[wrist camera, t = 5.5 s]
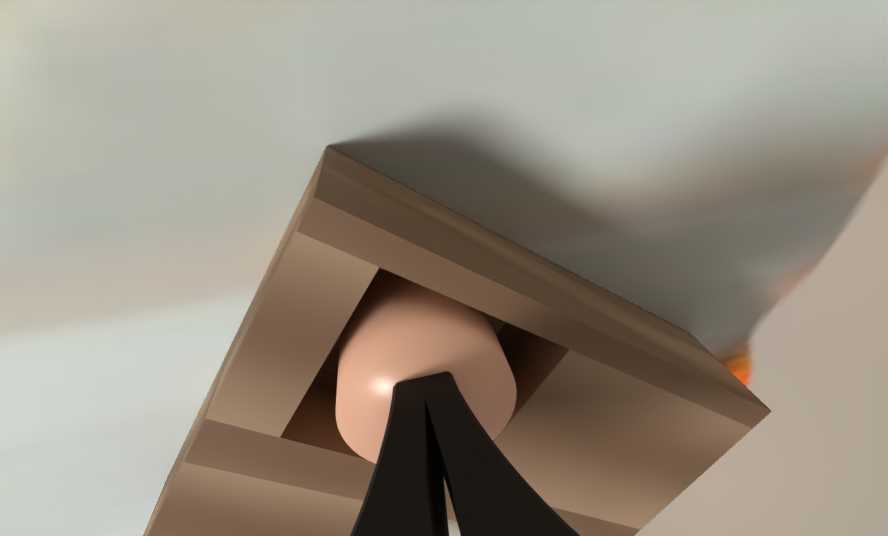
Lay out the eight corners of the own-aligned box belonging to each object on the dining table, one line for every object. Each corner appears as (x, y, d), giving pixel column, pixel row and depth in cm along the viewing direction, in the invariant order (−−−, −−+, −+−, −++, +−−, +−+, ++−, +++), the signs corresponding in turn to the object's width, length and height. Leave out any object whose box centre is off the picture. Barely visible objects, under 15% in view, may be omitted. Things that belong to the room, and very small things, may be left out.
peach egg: (439, 396, 16) (457, 485, 13) (316, 355, 14) (304, 446, 11) (511, 297, 14) (551, 371, 11) (383, 238, 12) (391, 307, 9)
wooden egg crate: (492, 544, 22) (517, 640, 19) (166, 478, 17) (116, 598, 13) (690, 333, 18) (771, 411, 14) (326, 145, 12) (313, 196, 9)
